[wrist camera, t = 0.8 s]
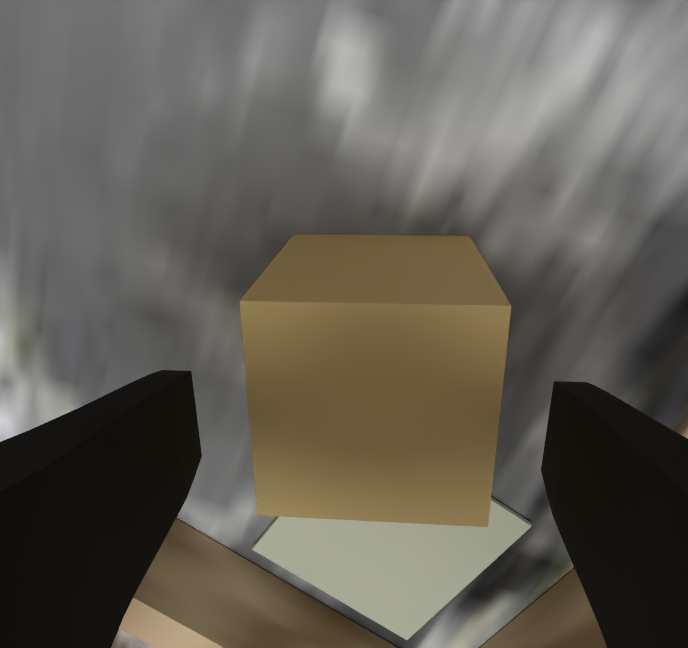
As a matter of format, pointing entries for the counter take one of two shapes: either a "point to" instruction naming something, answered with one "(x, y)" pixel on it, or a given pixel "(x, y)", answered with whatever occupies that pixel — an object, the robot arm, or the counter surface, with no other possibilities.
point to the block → (375, 379)
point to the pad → (390, 561)
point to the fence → (300, 607)
